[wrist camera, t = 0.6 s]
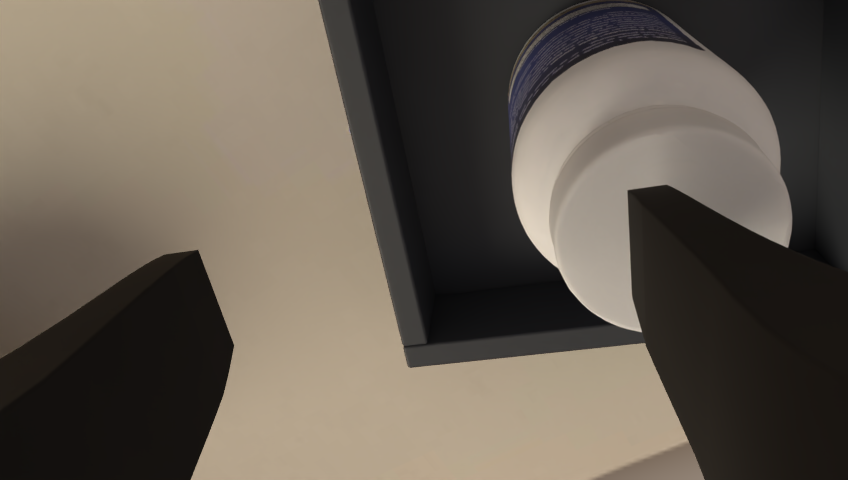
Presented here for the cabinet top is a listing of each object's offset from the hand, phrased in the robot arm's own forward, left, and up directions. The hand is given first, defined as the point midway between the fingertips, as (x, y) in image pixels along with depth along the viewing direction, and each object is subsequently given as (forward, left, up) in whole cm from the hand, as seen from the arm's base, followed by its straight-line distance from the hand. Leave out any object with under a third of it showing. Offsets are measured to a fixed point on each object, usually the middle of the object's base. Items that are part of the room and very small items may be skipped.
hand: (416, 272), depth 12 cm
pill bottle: (0, -4, -11) cm, 12 cm away
